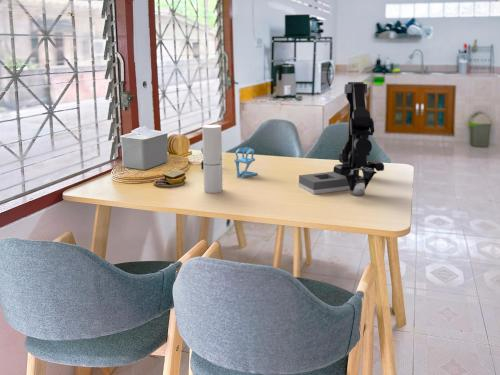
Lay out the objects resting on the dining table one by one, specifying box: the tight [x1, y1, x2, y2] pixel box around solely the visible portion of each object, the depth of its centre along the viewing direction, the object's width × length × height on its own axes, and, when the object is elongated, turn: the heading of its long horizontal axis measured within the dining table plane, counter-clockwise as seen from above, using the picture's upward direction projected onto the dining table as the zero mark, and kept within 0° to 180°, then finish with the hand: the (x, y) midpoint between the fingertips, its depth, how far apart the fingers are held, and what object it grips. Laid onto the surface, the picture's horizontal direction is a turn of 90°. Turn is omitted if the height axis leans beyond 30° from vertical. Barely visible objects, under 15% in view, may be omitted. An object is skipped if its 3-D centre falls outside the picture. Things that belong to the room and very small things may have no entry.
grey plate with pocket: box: [298, 171, 351, 195], centre depth 214 cm, size 16×12×4 cm
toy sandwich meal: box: [153, 168, 187, 188], centre depth 222 cm, size 12×14×5 cm
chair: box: [234, 146, 258, 179], centre depth 233 cm, size 8×8×12 cm
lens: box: [350, 176, 366, 197], centre depth 205 cm, size 5×5×6 cm
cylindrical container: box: [201, 124, 223, 194], centre depth 209 cm, size 7×7×25 cm
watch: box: [200, 146, 204, 170], centre depth 247 cm, size 6×8×11 cm
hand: (357, 190), depth 205 cm, fingers closed on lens, 5 cm apart
